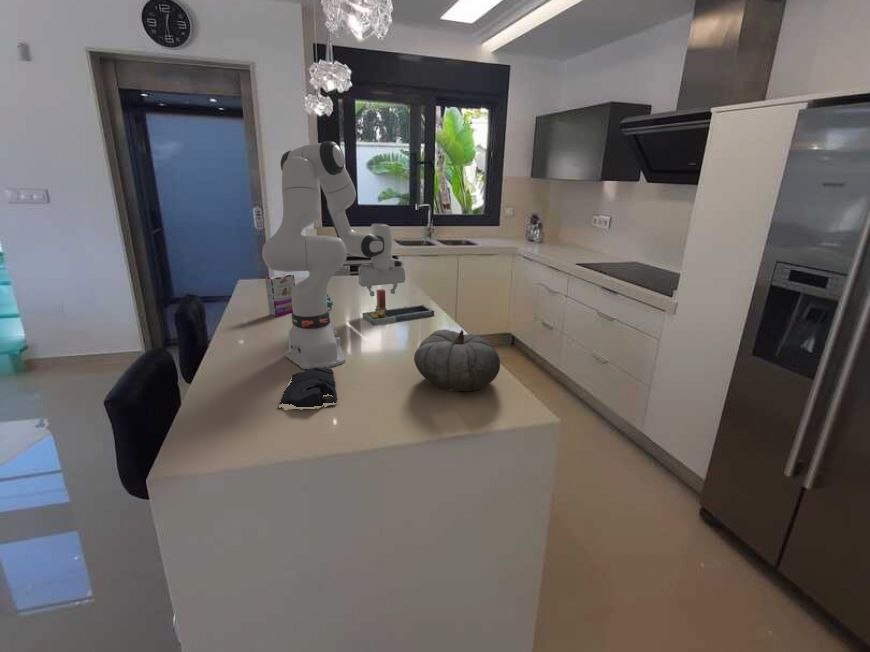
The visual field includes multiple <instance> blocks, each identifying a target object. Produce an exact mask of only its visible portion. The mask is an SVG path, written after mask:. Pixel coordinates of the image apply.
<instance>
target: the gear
mask: <svg viewBox="0 0 870 652" xmlns="http://www.w3.org/2000/svg"><path fill="white" fill-rule="evenodd" d="M331 299H332V298H331V297H329V293H327V310H329V309H330V310H332V308H333V307H332V306H334V302H333V301H332V300H331ZM328 301H329V302H328Z"/></svg>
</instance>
